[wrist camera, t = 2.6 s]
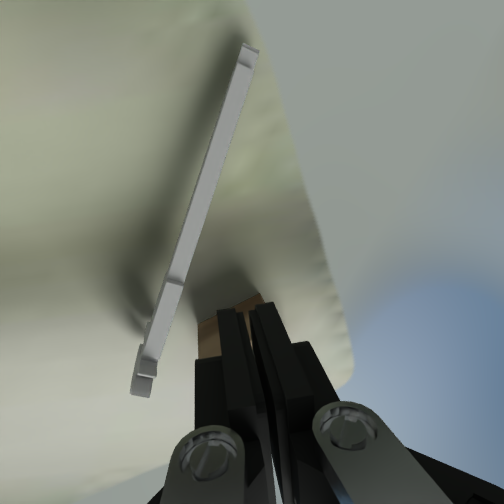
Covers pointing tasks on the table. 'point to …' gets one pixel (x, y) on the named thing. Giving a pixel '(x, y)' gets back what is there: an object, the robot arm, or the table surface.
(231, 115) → the caliper
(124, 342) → the table surface
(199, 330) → the walnut block
